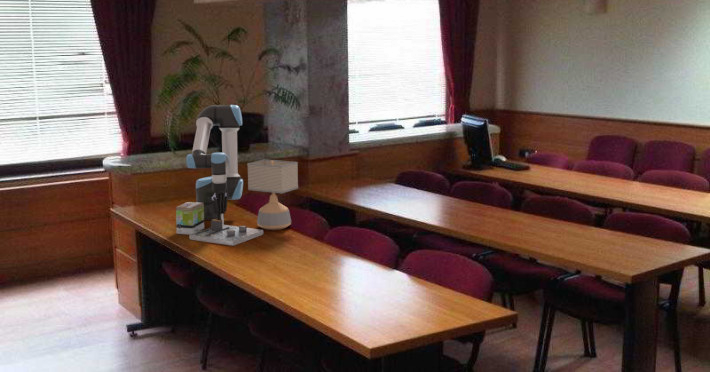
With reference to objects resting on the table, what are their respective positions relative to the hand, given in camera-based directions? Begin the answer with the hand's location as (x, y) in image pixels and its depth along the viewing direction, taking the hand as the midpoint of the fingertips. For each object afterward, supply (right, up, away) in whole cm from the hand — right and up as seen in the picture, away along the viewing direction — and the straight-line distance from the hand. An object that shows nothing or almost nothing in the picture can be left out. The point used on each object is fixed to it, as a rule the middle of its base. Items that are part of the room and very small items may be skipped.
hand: (220, 225), depth 420 cm
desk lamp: (+27, -2, +13) cm, 30 cm away
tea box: (-17, -3, +5) cm, 18 cm away
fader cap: (-2, -2, -2) cm, 4 cm away
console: (+4, -5, -8) cm, 10 cm away
